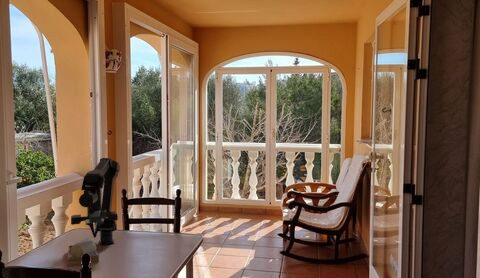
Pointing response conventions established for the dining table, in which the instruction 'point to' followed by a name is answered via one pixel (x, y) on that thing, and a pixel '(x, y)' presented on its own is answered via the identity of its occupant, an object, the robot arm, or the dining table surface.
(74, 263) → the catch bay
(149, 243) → the dining table surface
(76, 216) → the robot arm
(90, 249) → the ceramic mug
